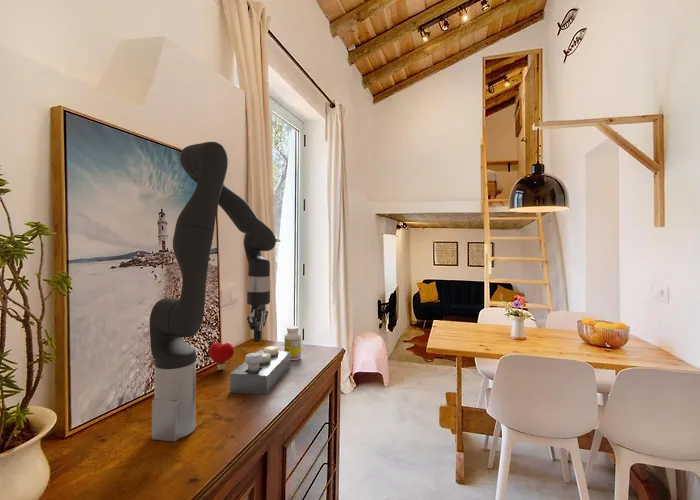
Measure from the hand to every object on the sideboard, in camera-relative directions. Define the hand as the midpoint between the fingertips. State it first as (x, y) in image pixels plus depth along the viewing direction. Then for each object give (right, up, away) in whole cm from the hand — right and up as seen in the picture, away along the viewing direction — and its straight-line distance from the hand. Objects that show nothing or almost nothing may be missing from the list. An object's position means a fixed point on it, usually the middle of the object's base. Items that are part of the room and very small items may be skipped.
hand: (257, 341), depth 116 cm
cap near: (0, -9, -3) cm, 9 cm away
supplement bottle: (+7, -14, +26) cm, 30 cm away
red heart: (-17, -14, +12) cm, 25 cm away
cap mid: (+1, -11, +5) cm, 12 cm away
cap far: (+2, -11, +12) cm, 17 cm away
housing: (+1, -14, +5) cm, 15 cm away
